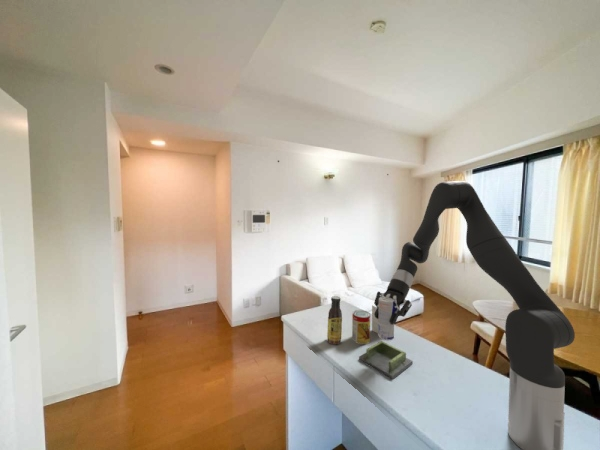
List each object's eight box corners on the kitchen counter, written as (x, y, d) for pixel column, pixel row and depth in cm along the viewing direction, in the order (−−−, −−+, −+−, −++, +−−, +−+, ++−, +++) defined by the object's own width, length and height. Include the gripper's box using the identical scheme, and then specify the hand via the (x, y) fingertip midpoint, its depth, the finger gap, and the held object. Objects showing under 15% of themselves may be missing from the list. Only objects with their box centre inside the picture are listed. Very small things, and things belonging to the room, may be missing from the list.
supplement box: (394, 333, 109) (394, 307, 109) (382, 337, 106) (383, 310, 105) (382, 327, 116) (382, 302, 115) (371, 330, 112) (371, 305, 112)
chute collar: (412, 364, 86) (412, 353, 86) (392, 379, 78) (392, 367, 78) (379, 347, 97) (379, 337, 97) (359, 359, 89) (359, 349, 89)
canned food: (373, 342, 102) (374, 315, 101) (359, 345, 99) (359, 318, 98) (362, 333, 109) (363, 308, 109) (348, 336, 106) (349, 311, 106)
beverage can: (395, 342, 84) (395, 302, 84) (379, 340, 85) (379, 301, 85) (392, 334, 90) (392, 296, 89) (377, 333, 91) (377, 296, 90)
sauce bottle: (330, 346, 98) (330, 300, 97) (325, 338, 104) (325, 295, 103) (344, 344, 100) (344, 299, 99) (338, 337, 106) (338, 294, 105)
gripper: (381, 274, 97) (363, 309, 90) (415, 282, 85) (397, 322, 79) (387, 284, 100) (371, 318, 93) (421, 293, 89) (405, 332, 82)
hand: (383, 320), depth 86 cm, fingers closed on beverage can, 5 cm apart
